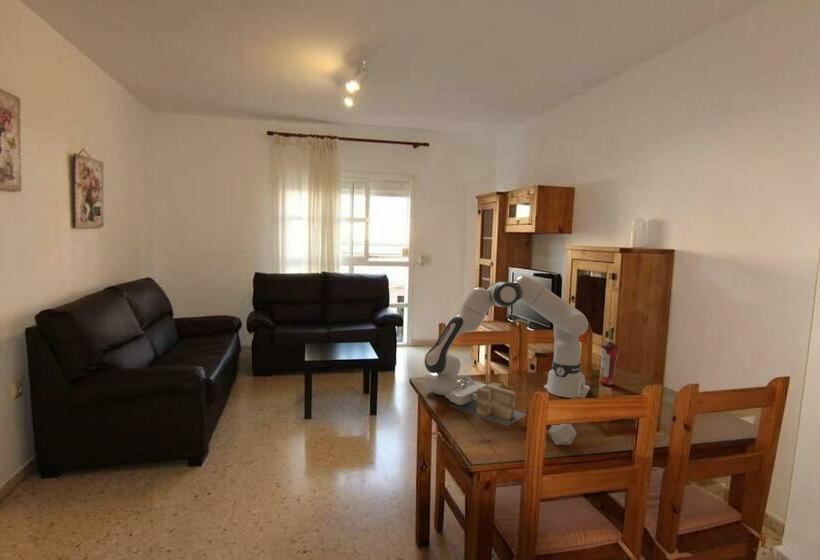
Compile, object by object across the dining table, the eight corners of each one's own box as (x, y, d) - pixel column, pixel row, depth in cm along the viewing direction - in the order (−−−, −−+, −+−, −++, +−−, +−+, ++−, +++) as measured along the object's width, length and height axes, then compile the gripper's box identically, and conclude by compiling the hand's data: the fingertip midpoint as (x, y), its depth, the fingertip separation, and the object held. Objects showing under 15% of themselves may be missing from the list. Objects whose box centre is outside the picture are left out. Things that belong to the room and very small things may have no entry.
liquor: (595, 382, 228) (599, 325, 225) (607, 381, 230) (612, 325, 227) (605, 387, 221) (610, 329, 218) (618, 386, 223) (623, 329, 220)
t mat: (470, 396, 202) (470, 396, 202) (527, 414, 185) (527, 414, 185) (448, 406, 190) (448, 406, 190) (507, 427, 173) (507, 426, 173)
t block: (492, 405, 193) (493, 382, 191) (518, 413, 185) (520, 389, 184) (476, 413, 183) (477, 389, 182) (503, 422, 176) (504, 397, 175)
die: (570, 453, 155) (584, 428, 157) (548, 438, 156) (562, 413, 158) (562, 450, 163) (575, 426, 165) (541, 436, 164) (554, 412, 166)
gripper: (442, 388, 188) (471, 397, 179) (470, 376, 204) (498, 384, 195) (441, 403, 189) (470, 412, 180) (470, 390, 205) (497, 399, 196)
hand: (485, 398), depth 188 cm, fingers closed, pressing on t block
